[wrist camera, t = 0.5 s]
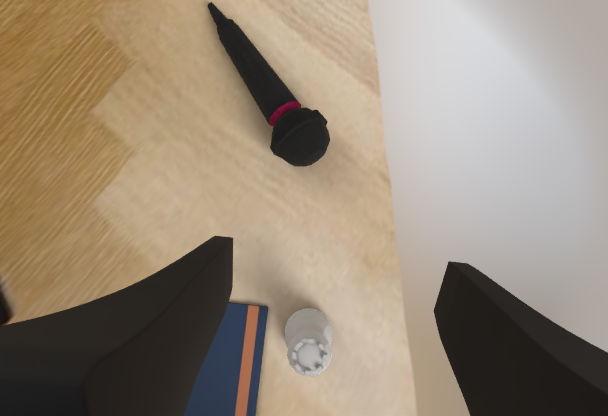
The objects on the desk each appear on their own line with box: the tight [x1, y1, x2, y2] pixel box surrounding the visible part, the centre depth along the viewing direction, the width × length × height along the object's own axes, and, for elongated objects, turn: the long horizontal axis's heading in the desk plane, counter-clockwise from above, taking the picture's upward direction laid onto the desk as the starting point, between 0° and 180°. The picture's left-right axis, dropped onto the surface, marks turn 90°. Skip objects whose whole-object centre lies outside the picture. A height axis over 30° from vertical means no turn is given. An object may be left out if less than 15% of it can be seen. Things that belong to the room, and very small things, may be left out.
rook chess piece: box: [284, 308, 333, 376], centre depth 29 cm, size 4×4×8 cm
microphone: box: [208, 2, 330, 166], centre depth 34 cm, size 6×6×20 cm
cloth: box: [184, 302, 268, 416], centre depth 33 cm, size 15×9×1 cm, turn 174°
